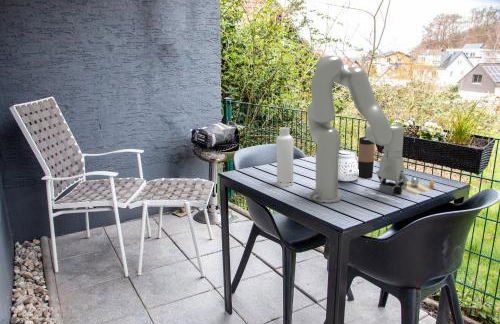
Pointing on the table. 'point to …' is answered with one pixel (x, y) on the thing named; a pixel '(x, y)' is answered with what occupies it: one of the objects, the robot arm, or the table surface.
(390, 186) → the flange
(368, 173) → the travel mug
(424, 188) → the board
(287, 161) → the bottle
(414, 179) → the post
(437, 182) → the table surface
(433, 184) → the dowel
